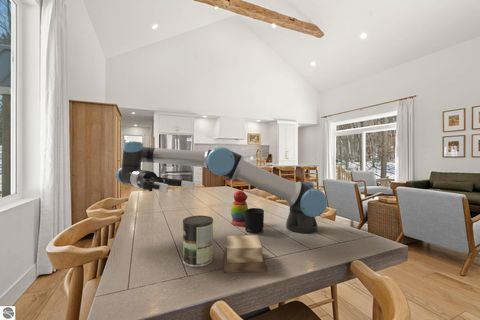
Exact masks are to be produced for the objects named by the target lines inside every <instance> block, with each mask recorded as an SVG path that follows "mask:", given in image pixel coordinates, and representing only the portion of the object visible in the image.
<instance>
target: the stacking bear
mask: <svg viewBox="0 0 480 320" xmlns="http://www.w3.org/2000/svg"><path fill="white" fill-rule="evenodd" d="M248 198H249V197H248V195H247V194H246V192H244V191H243V190H241V189H239V190H236V191H235V192H234V194H233V199H234V201H233V202H232V205H231V209H230V212H231V213H230V214H231V219H232V220H231V225H233V226H236V227H241V228H243V227H244V228H245V212H244V211H246V210H248V209H249V207H248V204H247V201H246V200H248Z"/></svg>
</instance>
